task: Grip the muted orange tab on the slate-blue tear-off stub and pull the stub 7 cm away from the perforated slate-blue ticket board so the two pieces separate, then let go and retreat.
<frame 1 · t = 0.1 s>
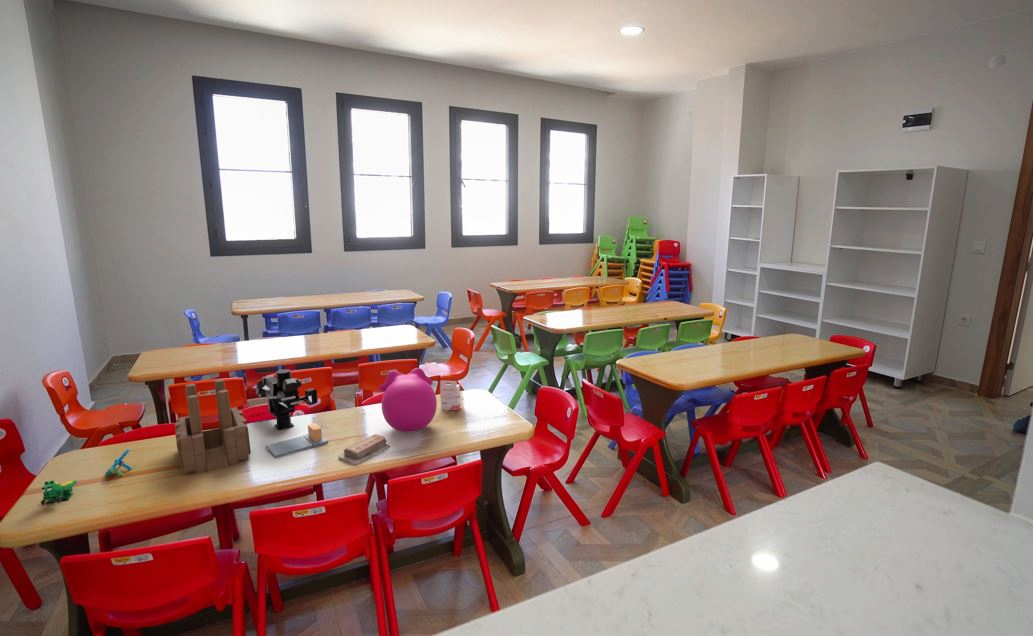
hand: (299, 406, 205), 17 cm above the table, tool horizontal, fingers open, 9 cm apart
stub: (314, 433, 212), point 3 cm above the table, slide at 0.0 cm
packaged product: (365, 454, 202), on the table
blue green toy: (119, 472, 188), on the table
wooden toy structure: (215, 455, 201), on the table
crocodile: (62, 496, 172), on the table
ink cartridge box: (450, 409, 247), on the table
ticket board: (289, 447, 207), on the table
figurine: (410, 429, 224), on the table
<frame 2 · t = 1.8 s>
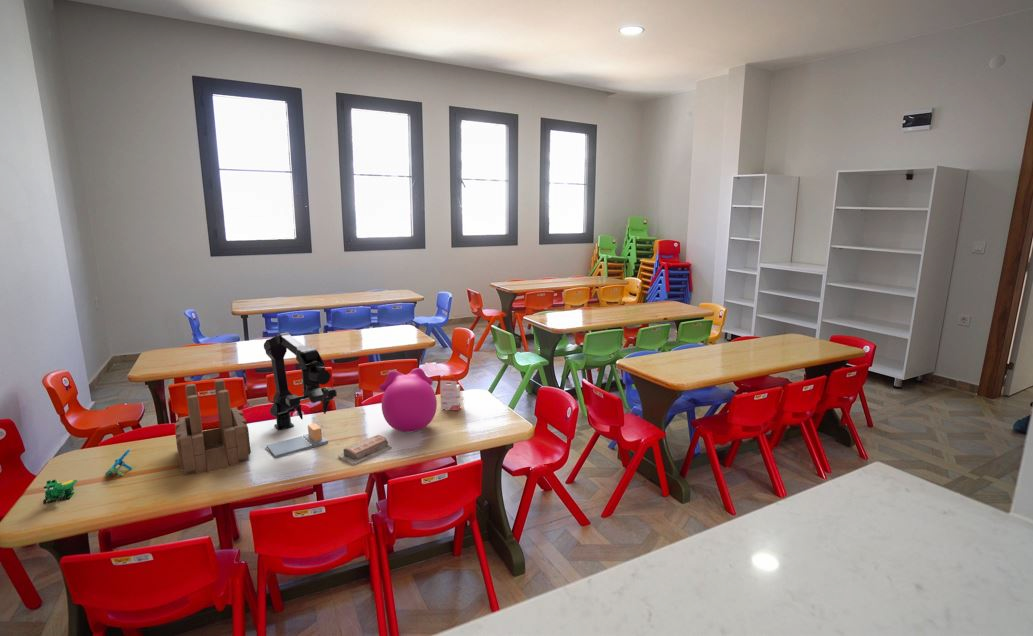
hand: (313, 416, 211), 10 cm above the table, tool pointing down, fingers open, 9 cm apart
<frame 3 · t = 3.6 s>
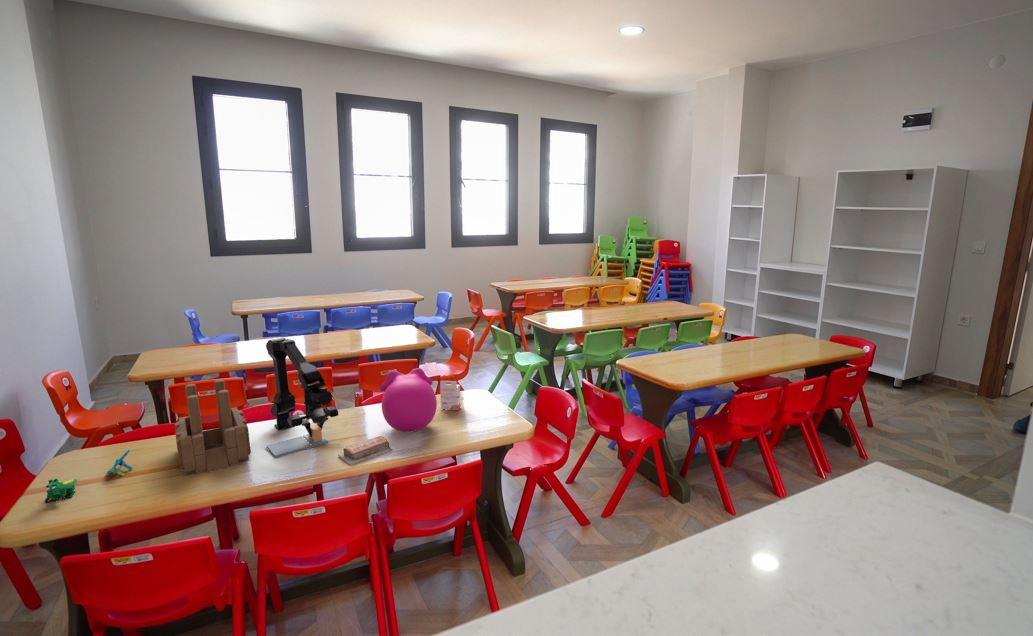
hand: (315, 435, 213), 2 cm above the table, tool pointing down, fingers closed on stub, 3 cm apart
stub: (314, 433, 212), point 3 cm above the table, slide at 0.0 cm, touching gripper
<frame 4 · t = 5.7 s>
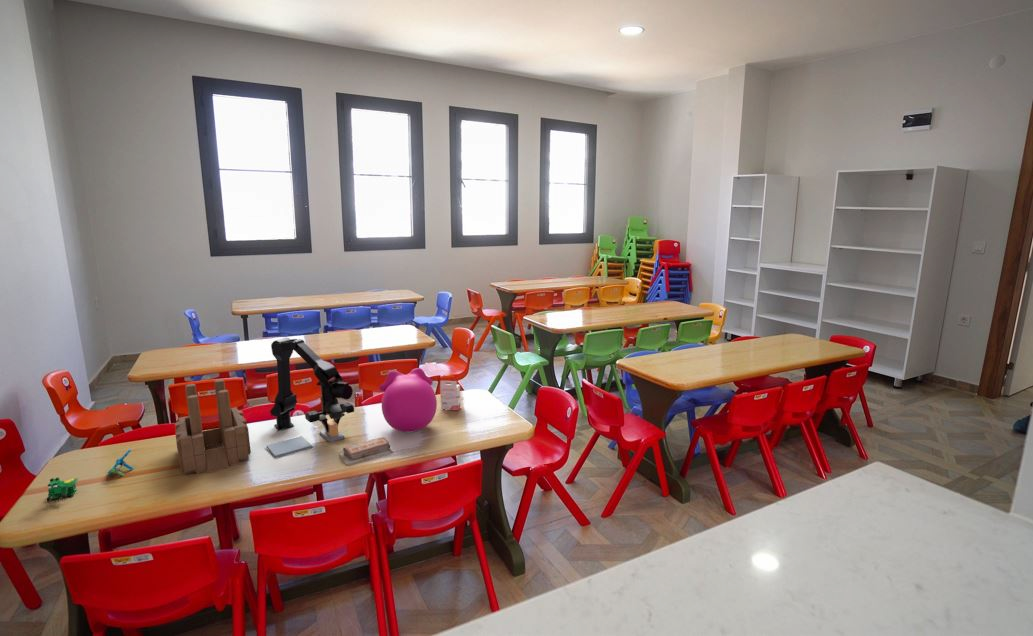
hand: (331, 431, 217), 2 cm above the table, tool pointing down, fingers closed on stub, 3 cm apart
stub: (331, 428, 217), point 3 cm above the table, slide at 6.8 cm, touching gripper
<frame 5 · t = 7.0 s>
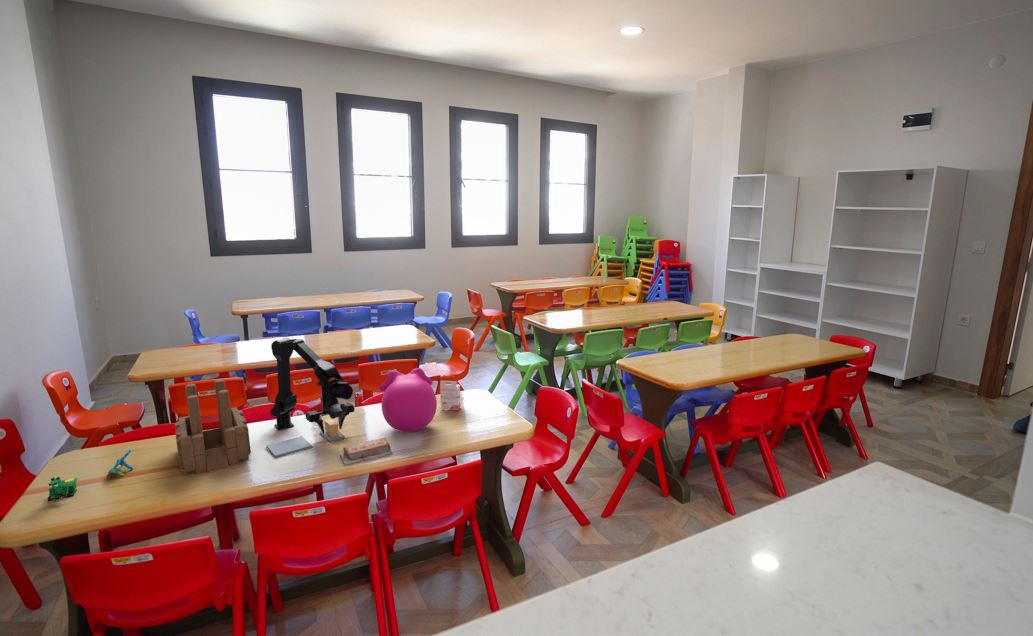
hand: (331, 431, 217), 2 cm above the table, tool pointing down, fingers open, 7 cm apart
stub: (331, 428, 217), point 3 cm above the table, slide at 6.9 cm
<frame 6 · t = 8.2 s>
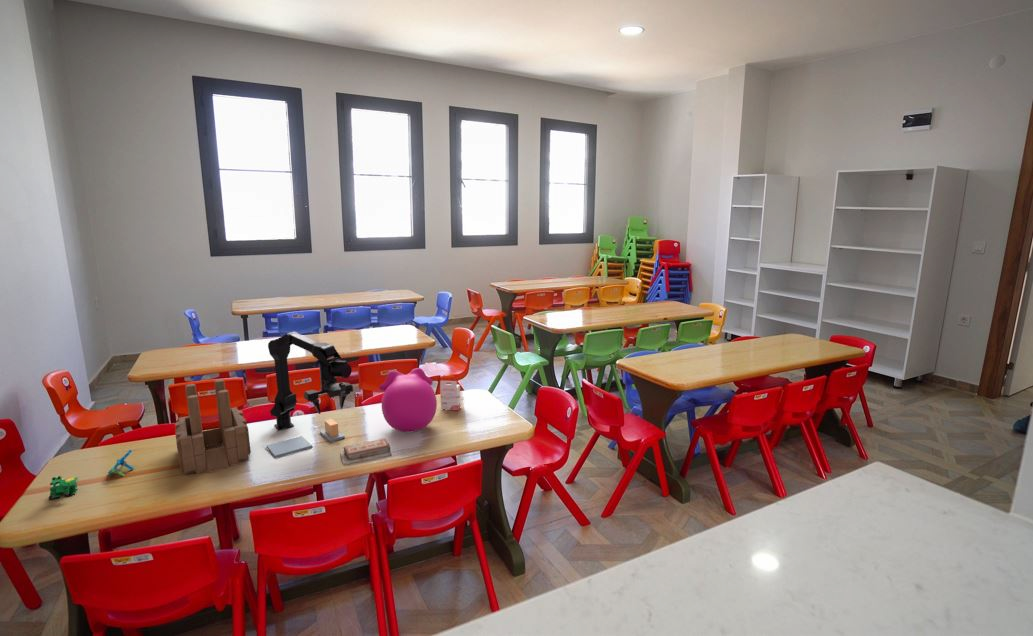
hand: (330, 411, 215), 11 cm above the table, tool pointing down, fingers open, 9 cm apart
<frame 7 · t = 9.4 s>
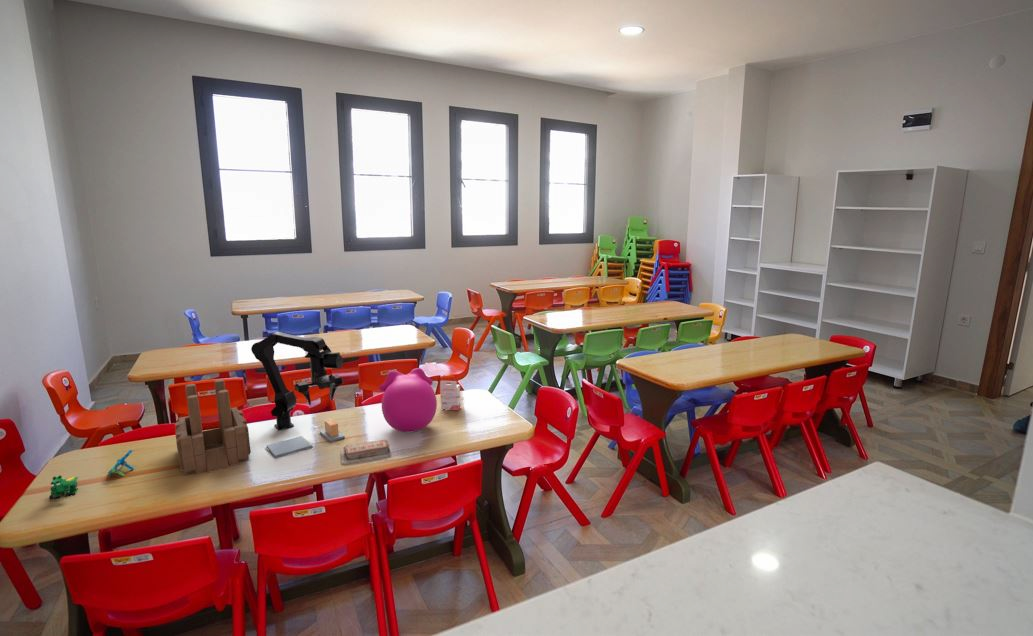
hand: (320, 402, 222), 12 cm above the table, tool pointing down, fingers open, 9 cm apart
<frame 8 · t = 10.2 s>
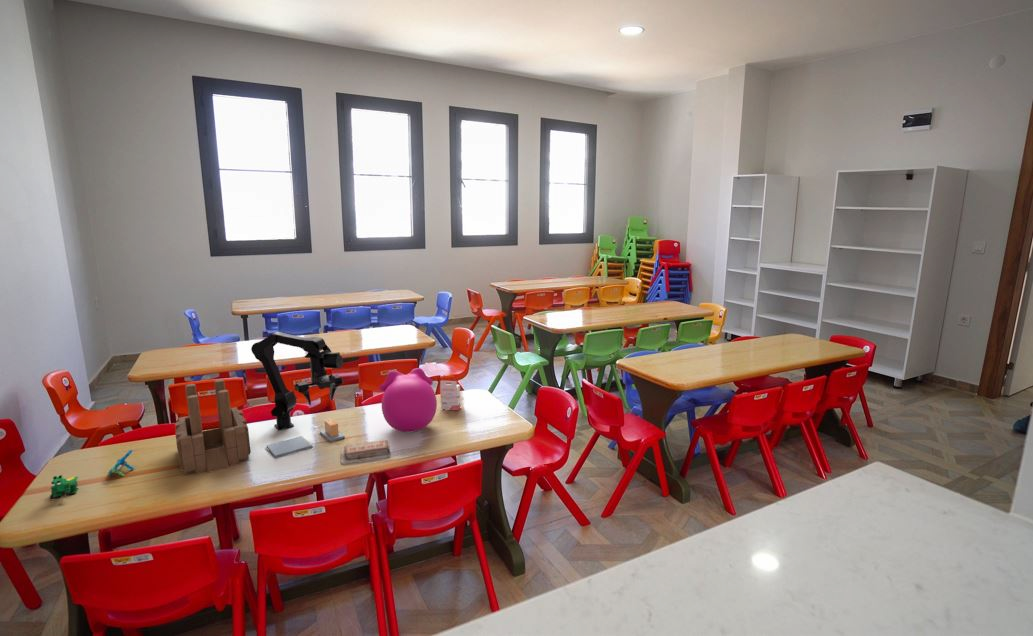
hand: (320, 402, 222), 12 cm above the table, tool pointing down, fingers open, 9 cm apart
at the end: stub slide at 6.9 cm; the gripper is holding nothing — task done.
